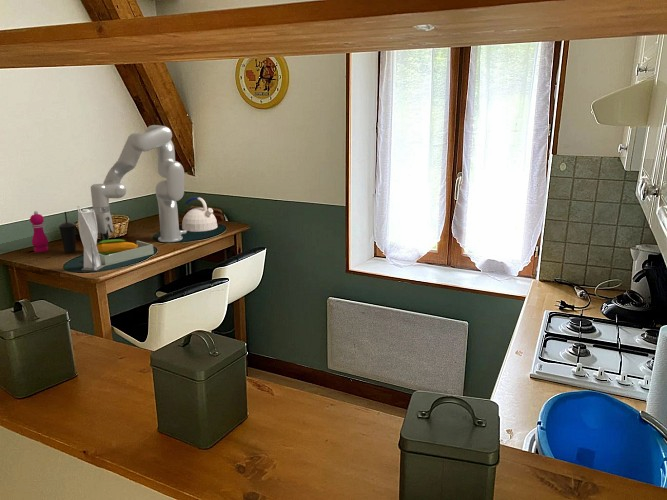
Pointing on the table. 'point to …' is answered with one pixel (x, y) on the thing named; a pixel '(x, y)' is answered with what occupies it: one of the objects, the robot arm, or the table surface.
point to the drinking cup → (68, 235)
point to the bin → (127, 254)
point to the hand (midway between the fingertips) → (105, 246)
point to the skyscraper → (89, 239)
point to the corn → (114, 246)
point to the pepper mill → (38, 233)
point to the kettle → (199, 218)
